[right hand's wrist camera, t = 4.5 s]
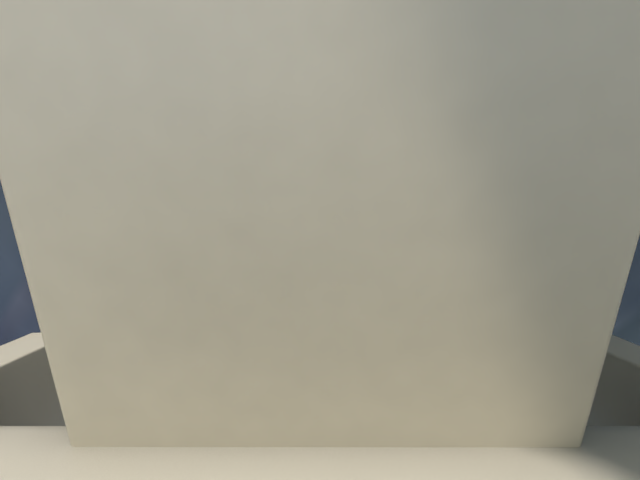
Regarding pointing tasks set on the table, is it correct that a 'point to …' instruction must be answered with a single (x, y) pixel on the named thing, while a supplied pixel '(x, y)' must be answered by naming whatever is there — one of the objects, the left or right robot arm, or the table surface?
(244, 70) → the bar
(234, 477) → the right robot arm
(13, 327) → the table surface
